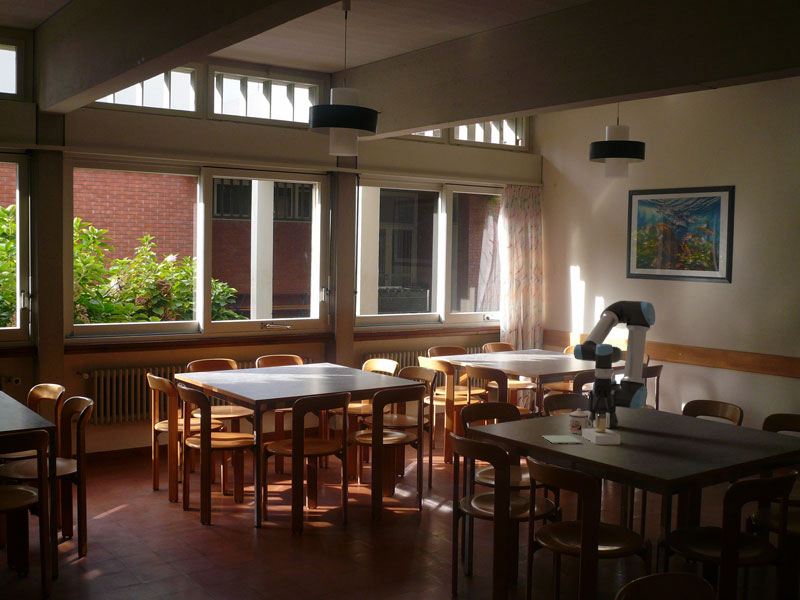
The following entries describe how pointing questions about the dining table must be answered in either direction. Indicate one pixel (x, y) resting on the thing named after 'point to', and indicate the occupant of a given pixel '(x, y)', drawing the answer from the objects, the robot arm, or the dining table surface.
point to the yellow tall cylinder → (601, 423)
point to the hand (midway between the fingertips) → (601, 427)
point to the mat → (562, 439)
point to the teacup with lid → (579, 421)
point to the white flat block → (601, 436)
